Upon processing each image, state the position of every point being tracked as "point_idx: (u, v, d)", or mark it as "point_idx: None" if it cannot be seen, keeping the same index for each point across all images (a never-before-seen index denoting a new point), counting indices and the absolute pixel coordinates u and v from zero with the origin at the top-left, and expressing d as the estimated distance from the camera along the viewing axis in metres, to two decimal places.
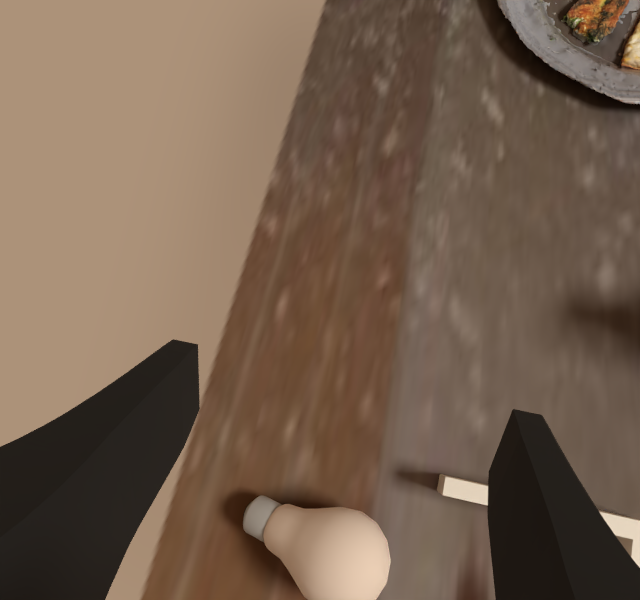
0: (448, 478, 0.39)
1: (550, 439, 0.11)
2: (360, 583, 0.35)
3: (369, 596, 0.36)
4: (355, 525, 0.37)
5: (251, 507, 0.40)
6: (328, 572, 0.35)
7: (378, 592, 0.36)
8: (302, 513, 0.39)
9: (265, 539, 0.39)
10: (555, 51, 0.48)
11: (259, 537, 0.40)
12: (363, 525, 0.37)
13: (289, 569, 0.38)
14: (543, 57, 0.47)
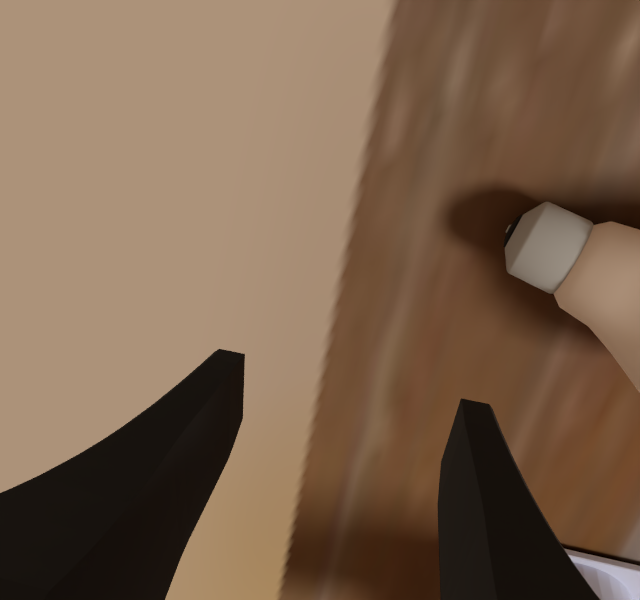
0: None
1: (494, 427, 0.11)
2: None
3: None
4: None
5: (532, 239, 0.19)
6: None
7: None
8: None
9: (564, 300, 0.19)
10: None
11: (545, 290, 0.20)
12: None
13: (622, 361, 0.19)
14: None
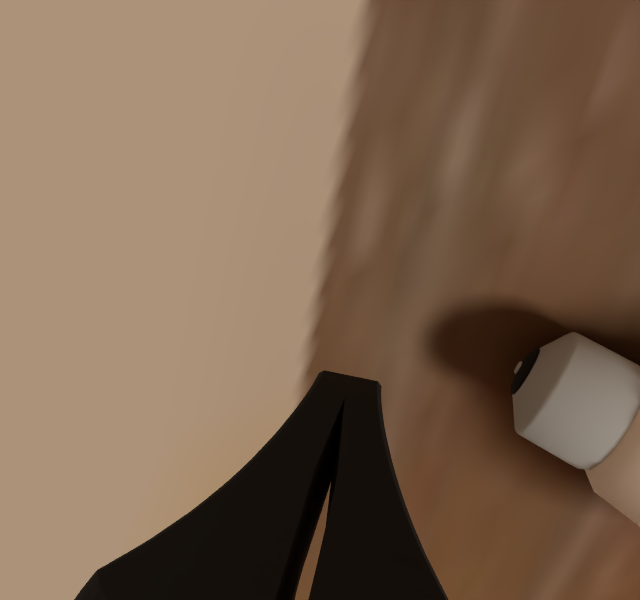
0: None
1: (373, 402, 0.12)
2: None
3: None
4: None
5: (555, 400, 0.12)
6: None
7: None
8: None
9: (601, 488, 0.13)
10: None
11: (571, 464, 0.13)
12: None
13: None
14: None
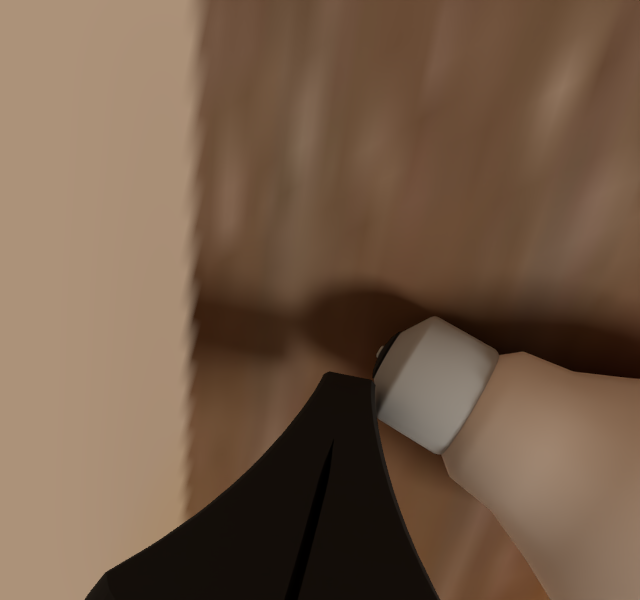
0: None
1: (366, 400, 0.12)
2: None
3: None
4: None
5: (401, 383, 0.12)
6: None
7: None
8: (595, 437, 0.11)
9: (451, 473, 0.13)
10: None
11: (428, 448, 0.13)
12: None
13: (534, 570, 0.12)
14: None
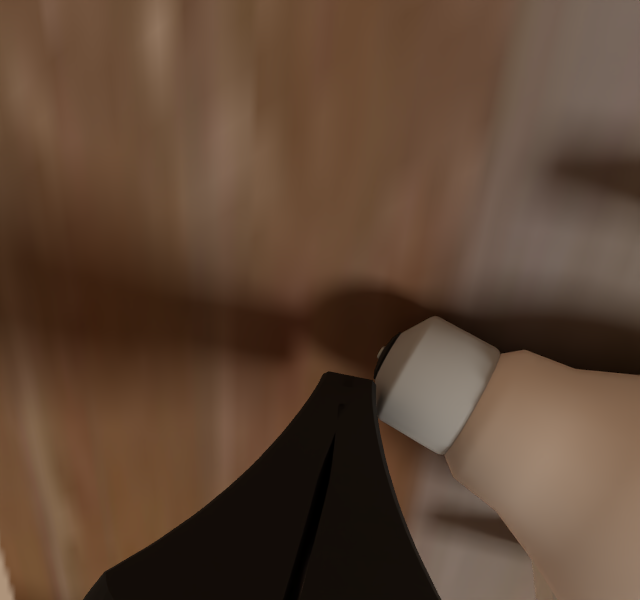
0: None
1: (367, 401, 0.12)
2: None
3: None
4: None
5: (402, 384, 0.12)
6: None
7: None
8: (597, 435, 0.11)
9: (454, 473, 0.13)
10: None
11: (431, 449, 0.13)
12: None
13: (540, 570, 0.12)
14: None
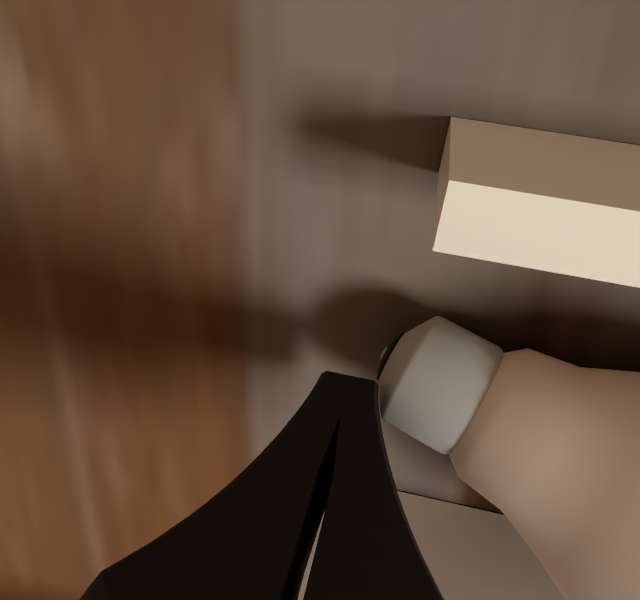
0: (461, 188, 0.09)
1: (369, 402, 0.12)
2: None
3: None
4: None
5: (405, 384, 0.12)
6: None
7: None
8: (602, 433, 0.11)
9: (459, 473, 0.12)
10: None
11: (435, 449, 0.13)
12: None
13: (546, 569, 0.12)
14: None
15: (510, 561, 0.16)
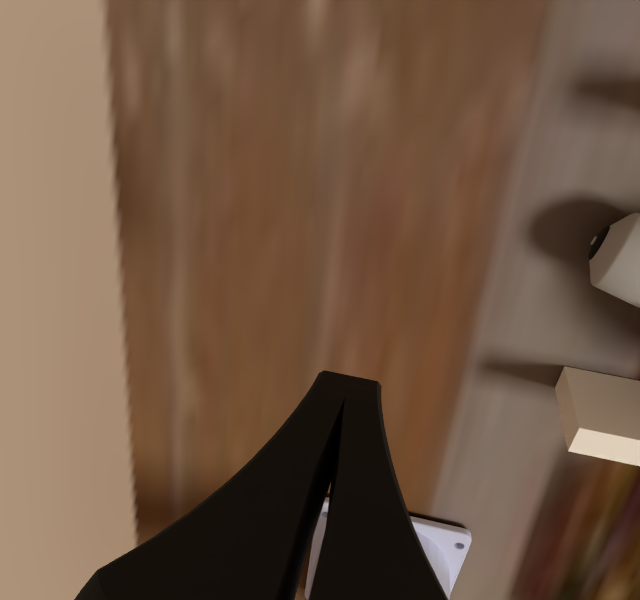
0: None
1: (373, 402, 0.12)
2: None
3: None
4: None
5: (624, 252, 0.18)
6: None
7: None
8: None
9: None
10: None
11: (634, 304, 0.19)
12: None
13: None
14: None
15: None
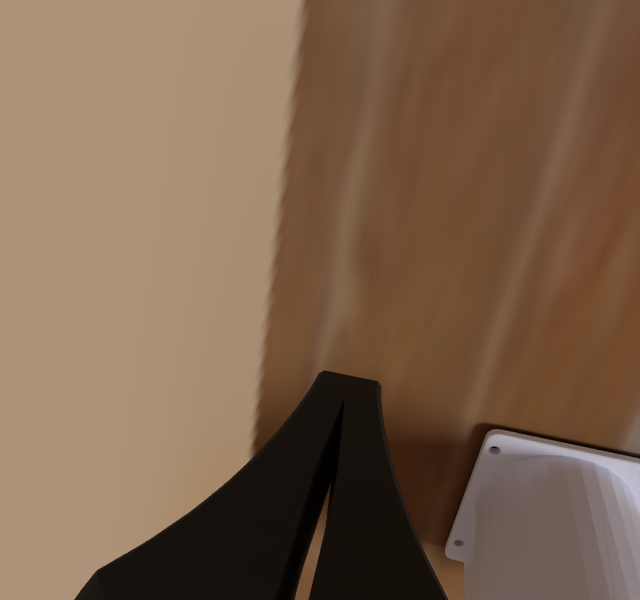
0: None
1: (373, 402, 0.12)
2: None
3: None
4: None
5: None
6: None
7: None
8: None
9: None
10: None
11: None
12: None
13: None
14: None
15: None
